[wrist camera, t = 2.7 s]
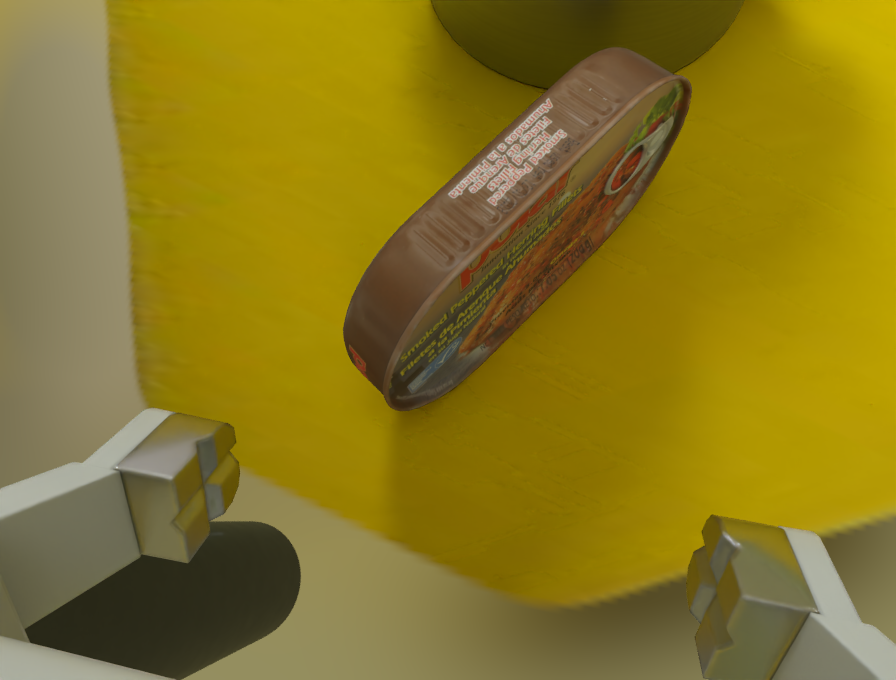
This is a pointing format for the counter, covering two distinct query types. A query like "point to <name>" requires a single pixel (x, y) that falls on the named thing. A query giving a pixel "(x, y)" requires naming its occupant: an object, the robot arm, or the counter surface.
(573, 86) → the tin
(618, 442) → the counter surface
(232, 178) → the counter surface
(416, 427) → the counter surface
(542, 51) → the stockpot
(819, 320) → the counter surface
